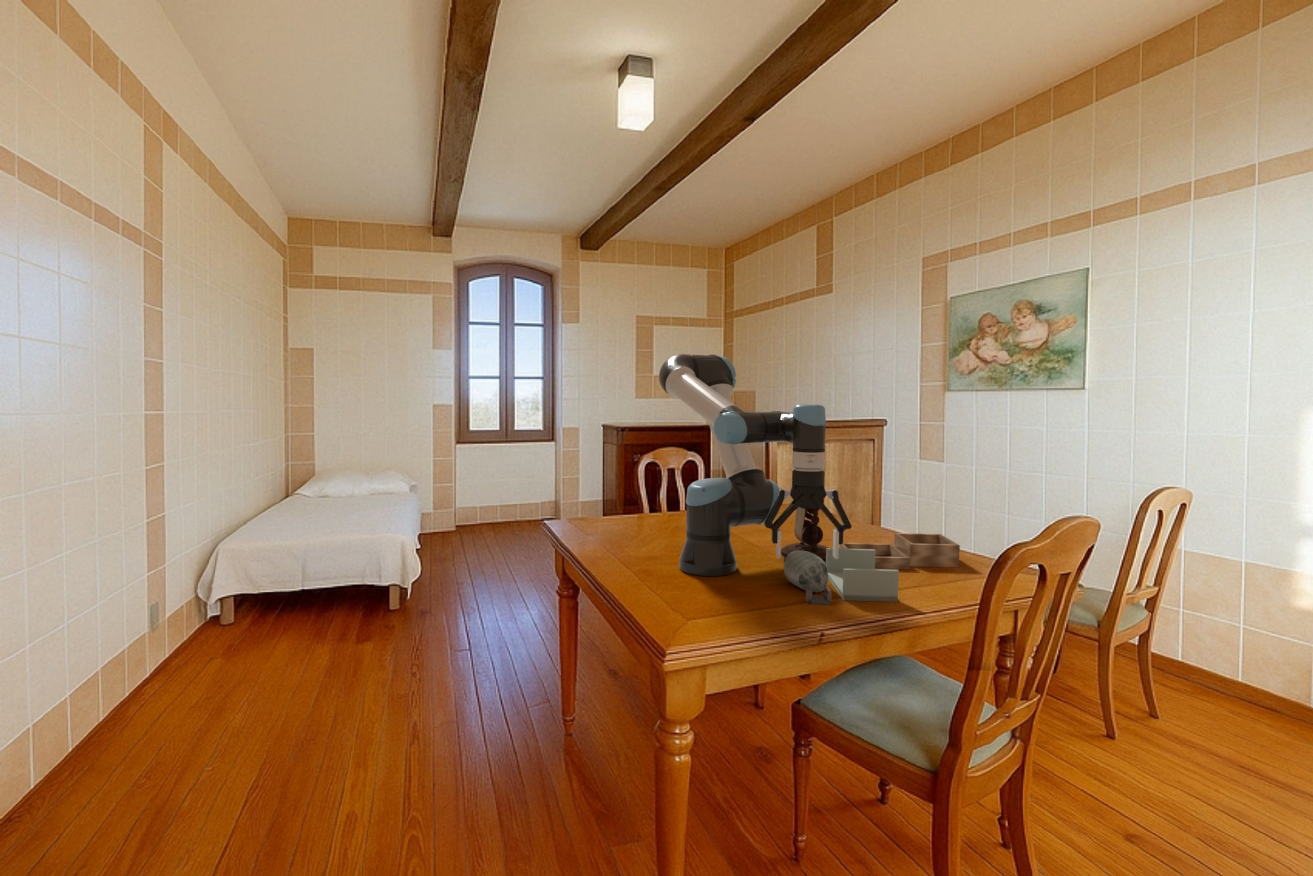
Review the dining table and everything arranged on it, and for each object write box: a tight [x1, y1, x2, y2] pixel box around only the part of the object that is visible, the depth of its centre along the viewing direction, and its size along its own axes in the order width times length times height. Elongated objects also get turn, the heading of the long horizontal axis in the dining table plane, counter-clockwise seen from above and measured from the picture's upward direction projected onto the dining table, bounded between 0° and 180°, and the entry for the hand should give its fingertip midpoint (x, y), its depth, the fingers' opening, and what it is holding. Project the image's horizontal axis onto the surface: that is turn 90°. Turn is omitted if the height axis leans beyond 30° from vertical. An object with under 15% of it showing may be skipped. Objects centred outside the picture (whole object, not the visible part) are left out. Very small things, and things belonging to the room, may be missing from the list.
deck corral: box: [839, 542, 911, 570], centre depth 175 cm, size 15×15×3 cm
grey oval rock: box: [783, 550, 829, 593], centre depth 152 cm, size 14×10×10 cm
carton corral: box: [893, 532, 961, 568], centre depth 176 cm, size 13×13×6 cm
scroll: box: [781, 498, 829, 563], centre depth 174 cm, size 15×15×20 cm
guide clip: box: [805, 586, 832, 605], centre depth 141 cm, size 5×3×3 cm, turn 87°
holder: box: [825, 547, 900, 603], centre depth 151 cm, size 12×19×7 cm, turn 177°
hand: (806, 557), depth 151 cm, fingers open, 13 cm apart
